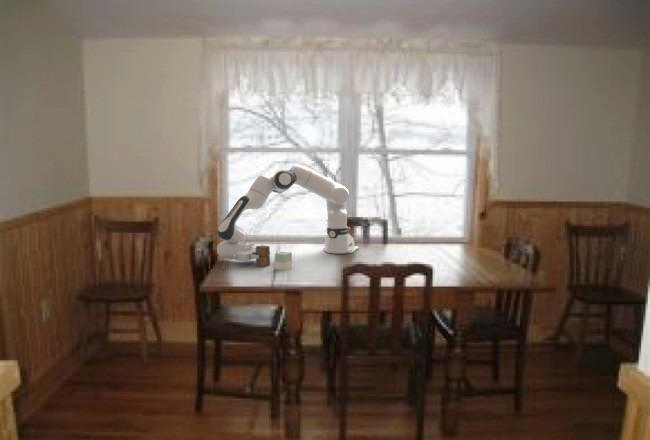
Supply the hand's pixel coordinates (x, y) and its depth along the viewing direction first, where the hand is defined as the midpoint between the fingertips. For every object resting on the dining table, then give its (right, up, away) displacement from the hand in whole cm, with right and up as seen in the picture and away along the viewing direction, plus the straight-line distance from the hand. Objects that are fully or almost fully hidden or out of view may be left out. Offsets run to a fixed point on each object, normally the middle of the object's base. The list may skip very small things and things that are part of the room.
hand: (264, 255), depth 281 cm
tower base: (+10, -6, -5) cm, 13 cm away
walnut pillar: (-1, -5, +1) cm, 6 cm away
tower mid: (+10, -3, -6) cm, 12 cm away
